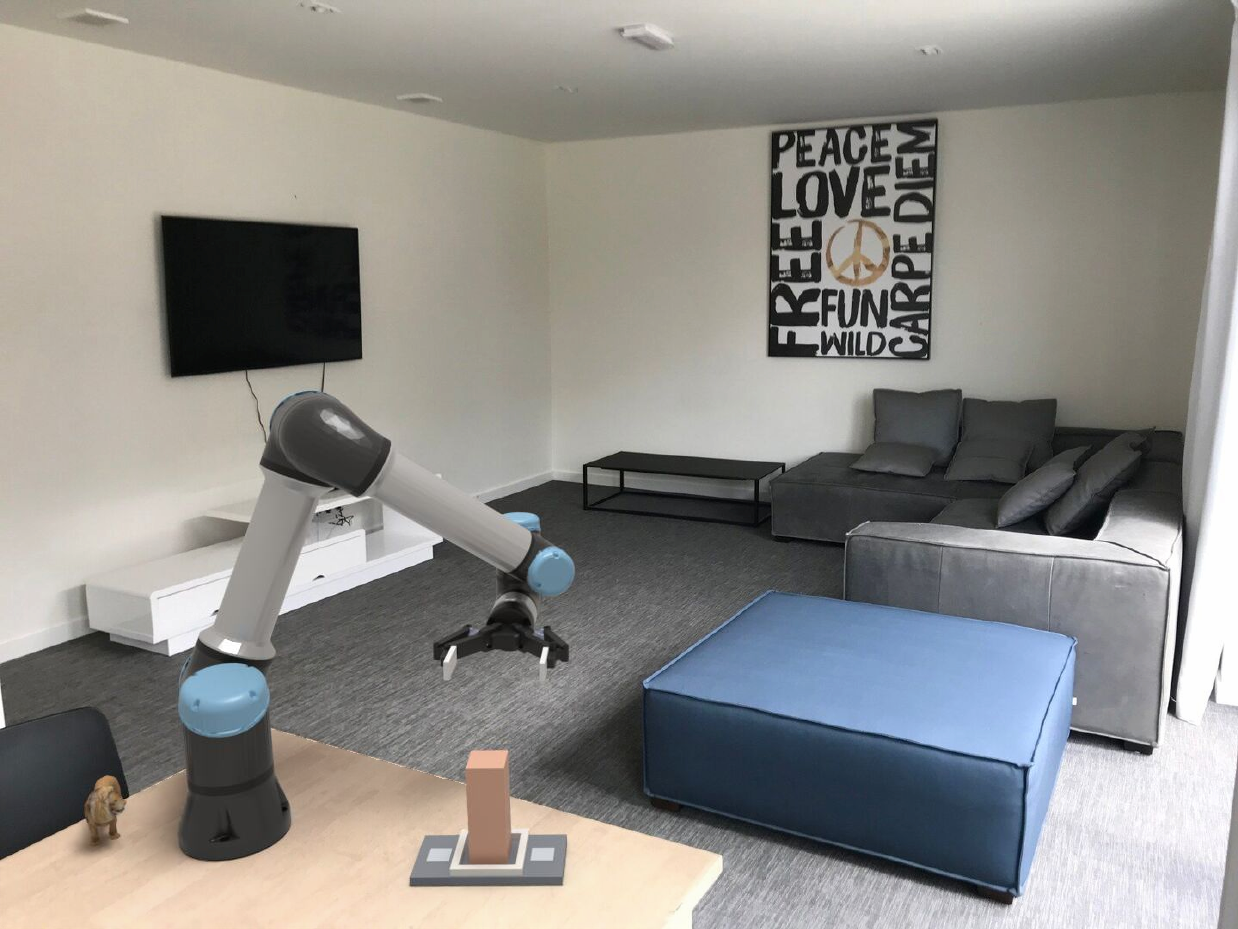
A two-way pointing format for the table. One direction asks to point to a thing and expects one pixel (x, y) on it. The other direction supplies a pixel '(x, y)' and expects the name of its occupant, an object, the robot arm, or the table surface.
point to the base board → (527, 865)
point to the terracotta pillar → (488, 807)
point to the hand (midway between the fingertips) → (494, 672)
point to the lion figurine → (104, 808)
